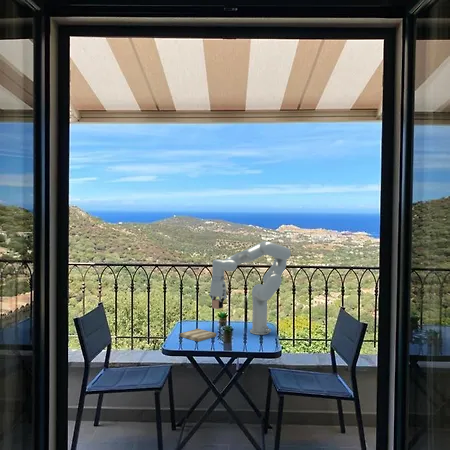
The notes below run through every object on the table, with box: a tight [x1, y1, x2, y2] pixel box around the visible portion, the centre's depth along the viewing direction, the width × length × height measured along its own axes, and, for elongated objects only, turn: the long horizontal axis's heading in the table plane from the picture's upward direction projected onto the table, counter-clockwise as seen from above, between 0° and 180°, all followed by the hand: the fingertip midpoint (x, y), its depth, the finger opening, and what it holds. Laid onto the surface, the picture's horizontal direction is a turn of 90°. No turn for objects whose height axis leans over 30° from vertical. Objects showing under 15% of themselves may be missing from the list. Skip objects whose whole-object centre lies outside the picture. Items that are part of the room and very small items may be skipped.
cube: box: [211, 298, 222, 310], centre depth 254 cm, size 5×5×5 cm
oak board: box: [179, 328, 217, 343], centre depth 247 cm, size 16×16×2 cm
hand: (217, 306), depth 254 cm, fingers closed on cube, 5 cm apart
